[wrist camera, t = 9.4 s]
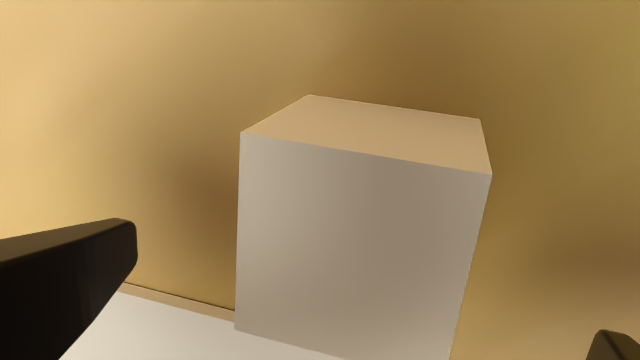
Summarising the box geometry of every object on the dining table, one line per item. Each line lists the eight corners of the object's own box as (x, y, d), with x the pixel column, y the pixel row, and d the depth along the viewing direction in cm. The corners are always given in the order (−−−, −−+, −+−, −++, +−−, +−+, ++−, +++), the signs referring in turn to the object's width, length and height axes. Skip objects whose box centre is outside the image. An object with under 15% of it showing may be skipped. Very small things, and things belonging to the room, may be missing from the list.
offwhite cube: (479, 118, 13) (492, 175, 9) (446, 271, 15) (442, 385, 10) (309, 93, 14) (240, 132, 10) (297, 239, 16) (234, 329, 11)
